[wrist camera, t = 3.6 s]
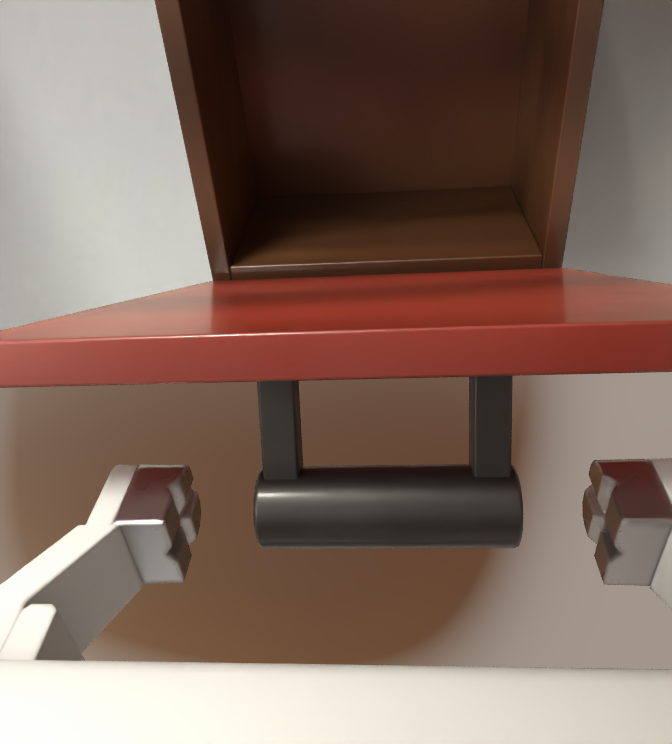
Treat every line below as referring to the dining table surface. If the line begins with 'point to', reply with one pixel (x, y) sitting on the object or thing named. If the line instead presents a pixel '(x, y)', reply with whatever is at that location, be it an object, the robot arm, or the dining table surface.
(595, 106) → the dining table surface
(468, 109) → the chest
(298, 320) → the lid
